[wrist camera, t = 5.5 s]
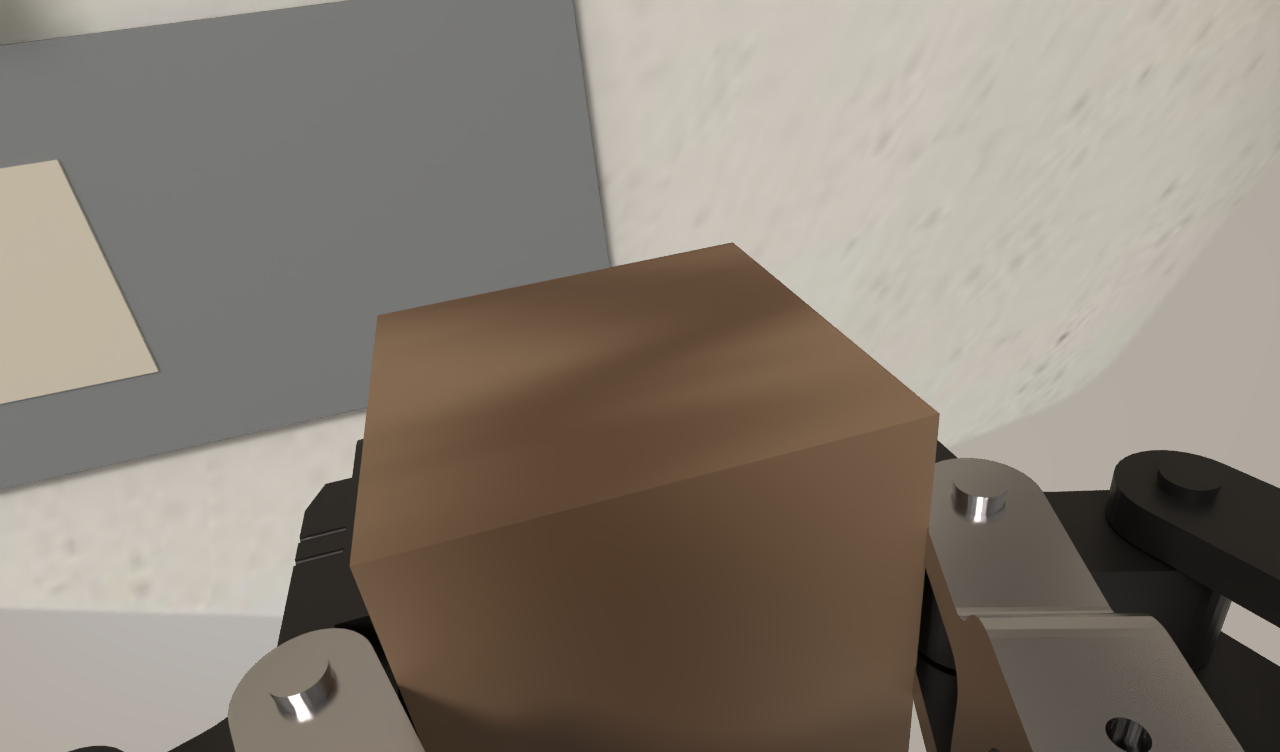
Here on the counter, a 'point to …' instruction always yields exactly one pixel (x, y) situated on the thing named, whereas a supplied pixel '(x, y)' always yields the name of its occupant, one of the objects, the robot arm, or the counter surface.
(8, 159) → the build mat
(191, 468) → the counter surface
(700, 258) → the walnut block
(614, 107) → the counter surface
